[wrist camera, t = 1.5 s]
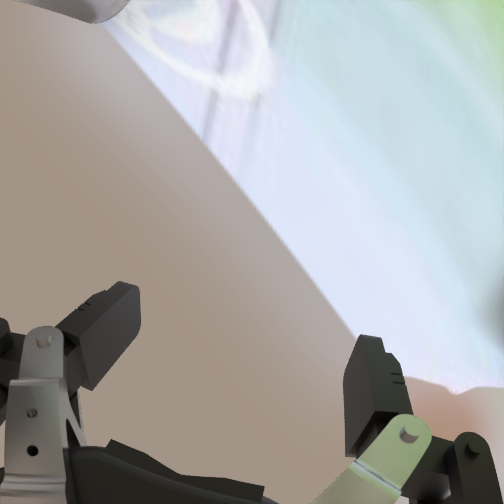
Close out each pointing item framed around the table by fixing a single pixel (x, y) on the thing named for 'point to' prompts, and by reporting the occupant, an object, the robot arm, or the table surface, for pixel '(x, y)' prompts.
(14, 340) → the robot arm
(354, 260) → the table surface
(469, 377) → the table surface
